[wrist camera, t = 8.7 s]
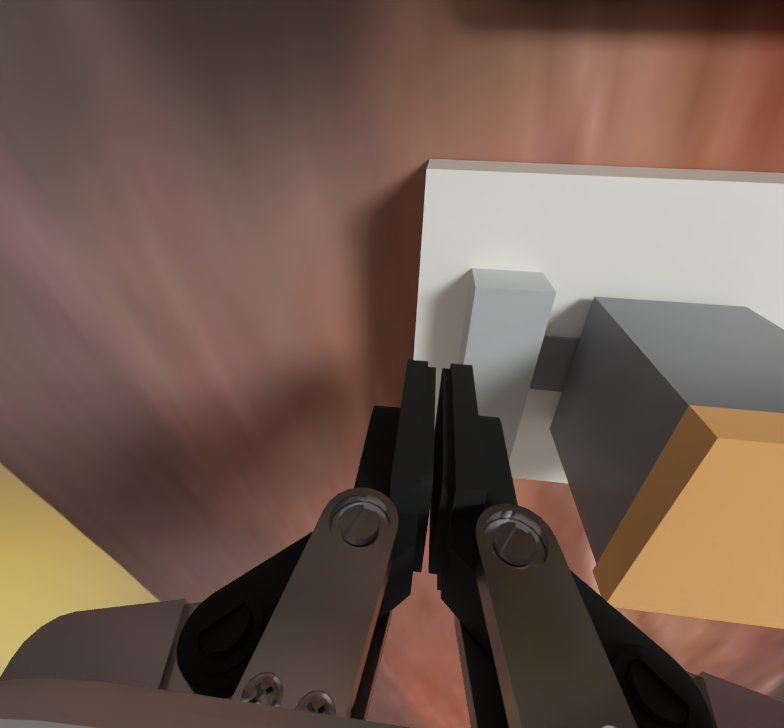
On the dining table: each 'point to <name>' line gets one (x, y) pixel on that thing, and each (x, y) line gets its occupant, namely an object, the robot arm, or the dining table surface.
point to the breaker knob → (679, 457)
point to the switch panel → (577, 270)
